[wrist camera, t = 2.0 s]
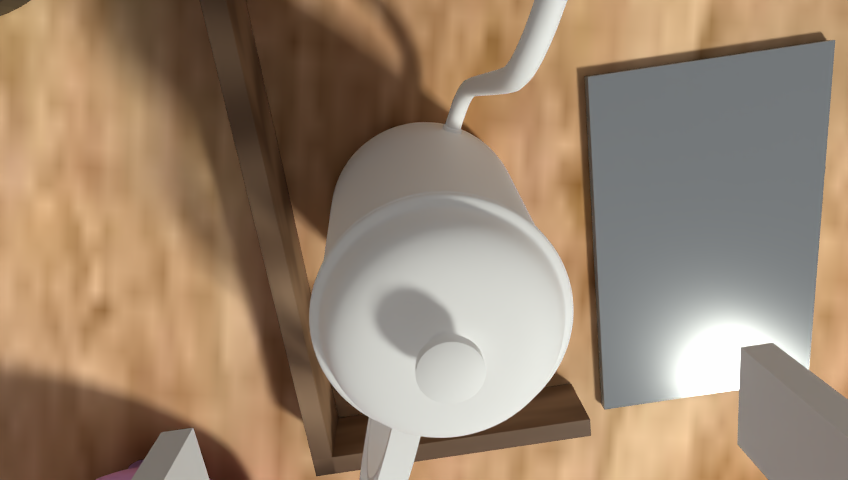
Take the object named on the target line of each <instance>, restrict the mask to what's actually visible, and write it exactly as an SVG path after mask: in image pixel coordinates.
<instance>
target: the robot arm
mask: <svg viewBox="0 0 848 480" xmlns="http://www.w3.org/2000/svg"><path fill="white" fill-rule="evenodd" d="M29 1H30V0H0V16H1V15H4V14H7V13H9V12H11V11H13V10H15V9H17V8H19V7H21V6H22V5H24V4H26V3H27V2H29ZM738 445H739V447H740V448H741V449H742V450H743V451H744V452H745V453H746V455H747V456H748V457H749V458H750V459H751V460H752V461H753V463H754V464H755V465H756V466H757V467H758V468H759V469H760V471H761V472H762V473H763V474H764V475H765V476H766V477H767V479H768V480H848V399H846V398H845V397H844V396H842V395H841V394H840V393H838V392H837V391H836V390H834V389H833V388H832V387H830V386H829V385H828V384H827V383H825V382H824V381H823V380H821V379H820V378H819V377H817V376H816V375H815V374H813V373H812V372H811V371H809V370H808V369H807V368H805V367H804V366H803V365H802V364H800V363H799V362H798V361H796V360H795V359H794V358H792V357H791V356H790V355H788V354H787V353H786V352H784V351H783V350H782V349H780V348H779V347H778V346H776V345H775V344H774V343H767V344H760V345H753V346H746V347H741V350H740V381H739V413H738ZM131 480H209V477H208V473H207V470H206V467H205V464H204V461H203V457H202V454H201V451H200V448H199V445H198V441H197V438H196V435H195V432H194V429H193V428H187V429H180V430H174V431H167V432H161V434H160V435H159V437H158V438H157V440H156V441H155V443H154V445H153V446H152V448H151V449H150V451H149V452H148V454H147V456H146V457H145V459H144V460H143V462H142V463H141V465H140V467H139V468H138V470H137V471H136V473H135V474H134V476H133V477H132V479H131Z"/></svg>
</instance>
